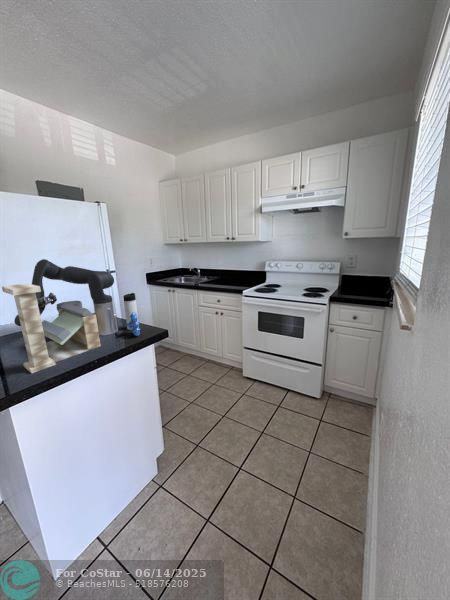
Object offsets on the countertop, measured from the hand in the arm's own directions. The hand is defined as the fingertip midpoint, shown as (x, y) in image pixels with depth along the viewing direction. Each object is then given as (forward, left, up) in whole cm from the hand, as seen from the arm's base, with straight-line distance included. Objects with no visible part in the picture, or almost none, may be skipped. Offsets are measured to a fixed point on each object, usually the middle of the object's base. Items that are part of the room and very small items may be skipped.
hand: (40, 296), depth 107 cm
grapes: (-31, +19, -25) cm, 45 cm away
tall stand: (+10, +14, -25) cm, 30 cm away
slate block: (-1, +5, -16) cm, 17 cm away
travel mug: (-37, +9, -25) cm, 46 cm away
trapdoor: (-6, +5, -14) cm, 16 cm away
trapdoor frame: (-5, +5, -25) cm, 26 cm away
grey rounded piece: (-18, -22, -25) cm, 38 cm away
